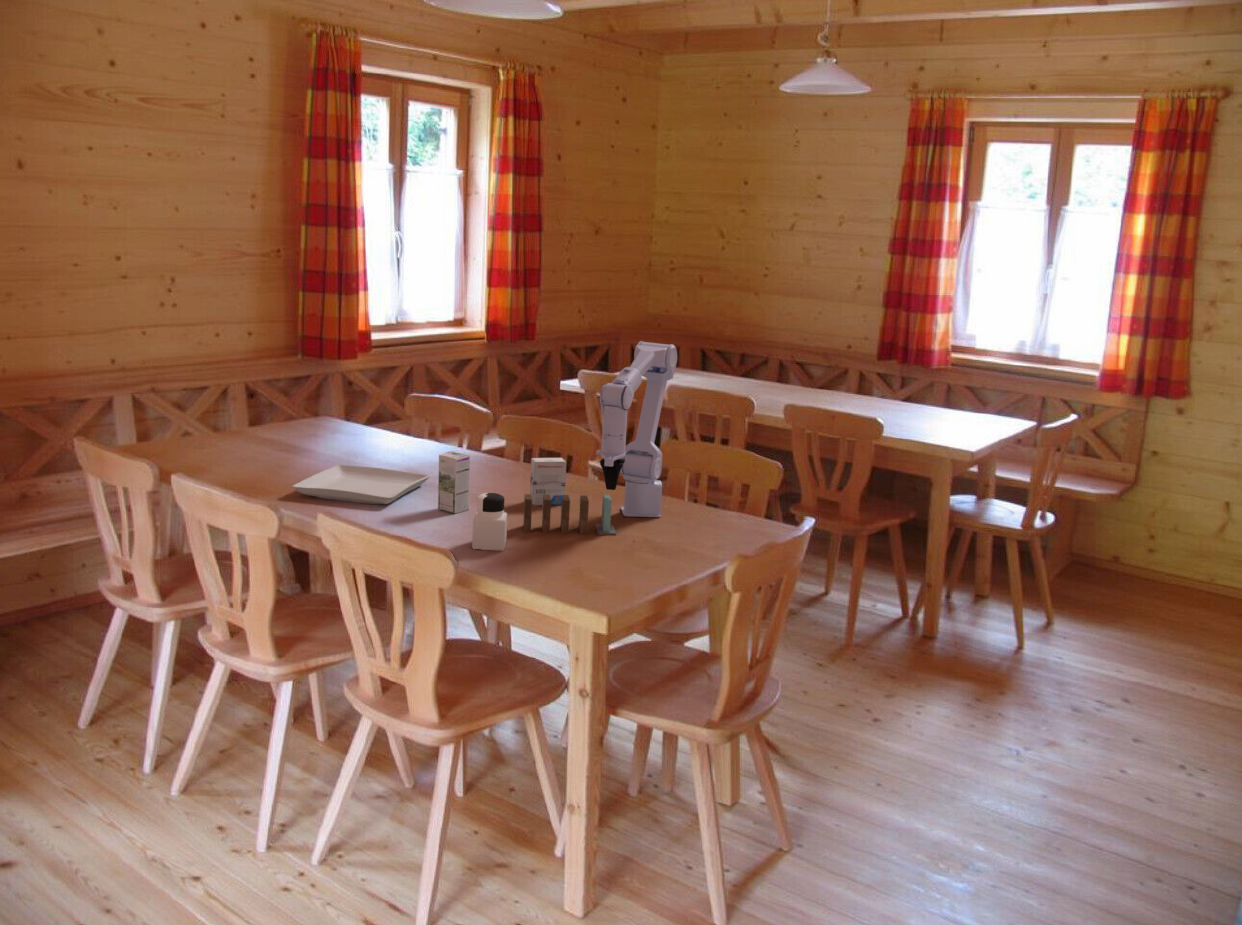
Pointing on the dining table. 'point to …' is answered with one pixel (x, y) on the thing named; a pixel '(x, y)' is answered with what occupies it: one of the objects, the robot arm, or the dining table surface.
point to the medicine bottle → (490, 523)
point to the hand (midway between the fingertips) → (611, 489)
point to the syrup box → (453, 482)
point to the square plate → (360, 484)
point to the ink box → (547, 479)
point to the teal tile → (606, 513)
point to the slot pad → (600, 531)
